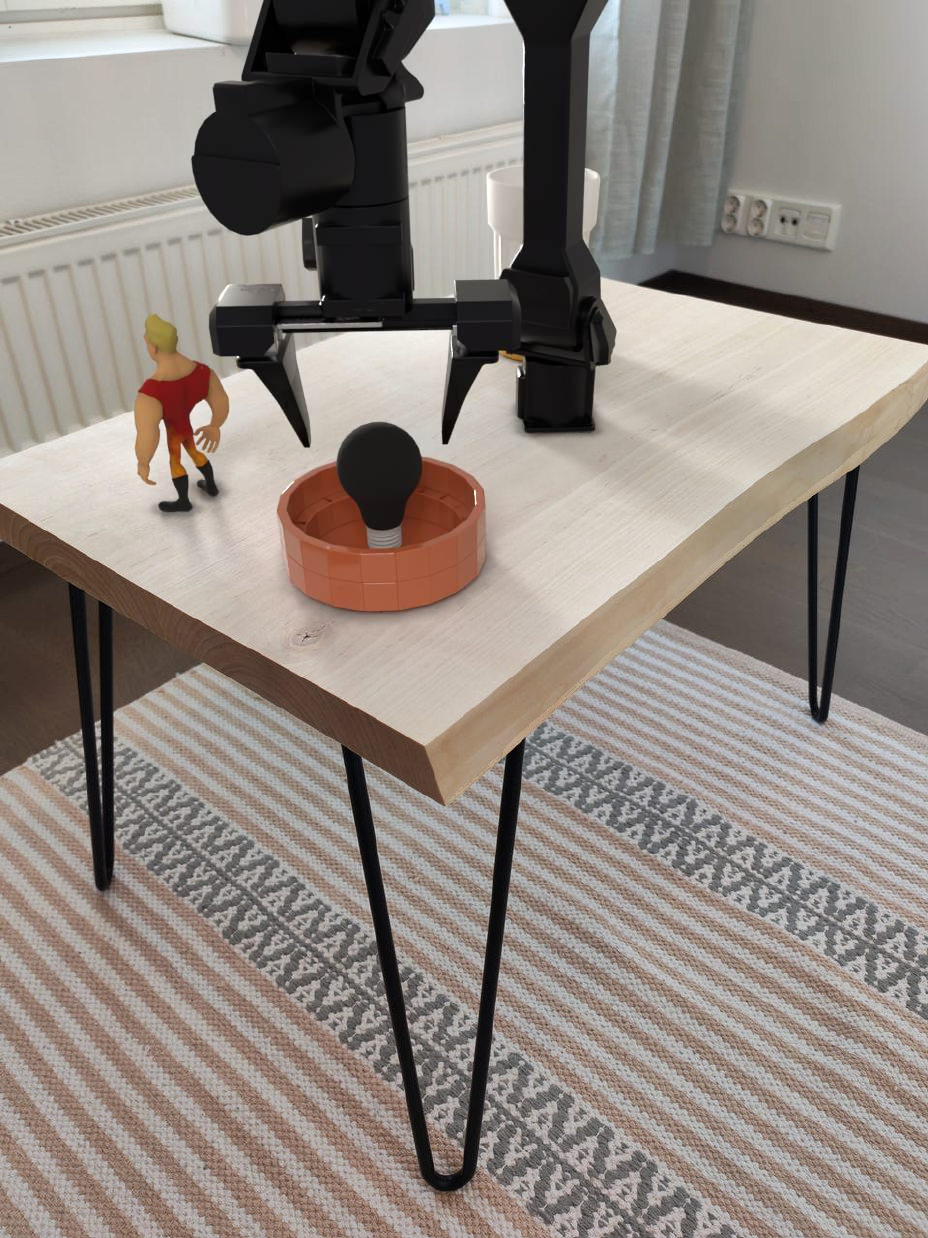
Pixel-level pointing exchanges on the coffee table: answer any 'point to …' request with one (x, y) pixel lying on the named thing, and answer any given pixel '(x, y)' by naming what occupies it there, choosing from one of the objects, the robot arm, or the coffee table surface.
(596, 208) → the cup
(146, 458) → the action figure
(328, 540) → the bowl
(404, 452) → the light bulb
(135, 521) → the coffee table surface
